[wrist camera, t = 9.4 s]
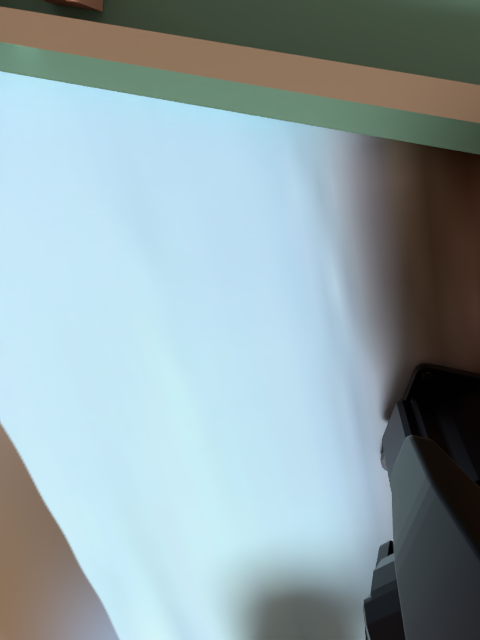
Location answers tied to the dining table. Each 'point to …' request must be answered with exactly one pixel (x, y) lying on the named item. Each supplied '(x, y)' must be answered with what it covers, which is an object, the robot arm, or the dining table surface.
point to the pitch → (271, 59)
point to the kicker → (80, 4)
